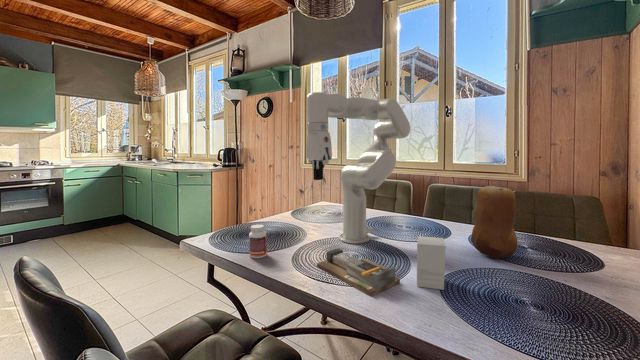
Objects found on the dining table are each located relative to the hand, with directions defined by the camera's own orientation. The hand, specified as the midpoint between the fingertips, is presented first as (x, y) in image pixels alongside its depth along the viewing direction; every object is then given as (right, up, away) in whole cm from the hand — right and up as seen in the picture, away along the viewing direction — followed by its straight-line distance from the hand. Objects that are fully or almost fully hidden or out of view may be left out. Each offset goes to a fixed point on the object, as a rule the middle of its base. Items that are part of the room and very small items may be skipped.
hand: (318, 179), depth 108 cm
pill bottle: (-22, -28, -1) cm, 35 cm away
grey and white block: (+9, -27, -13) cm, 32 cm away
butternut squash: (+61, -27, -3) cm, 67 cm away
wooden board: (+12, -29, -17) cm, 36 cm away
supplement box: (+32, -30, -23) cm, 49 cm away
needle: (+15, -29, -25) cm, 41 cm away
